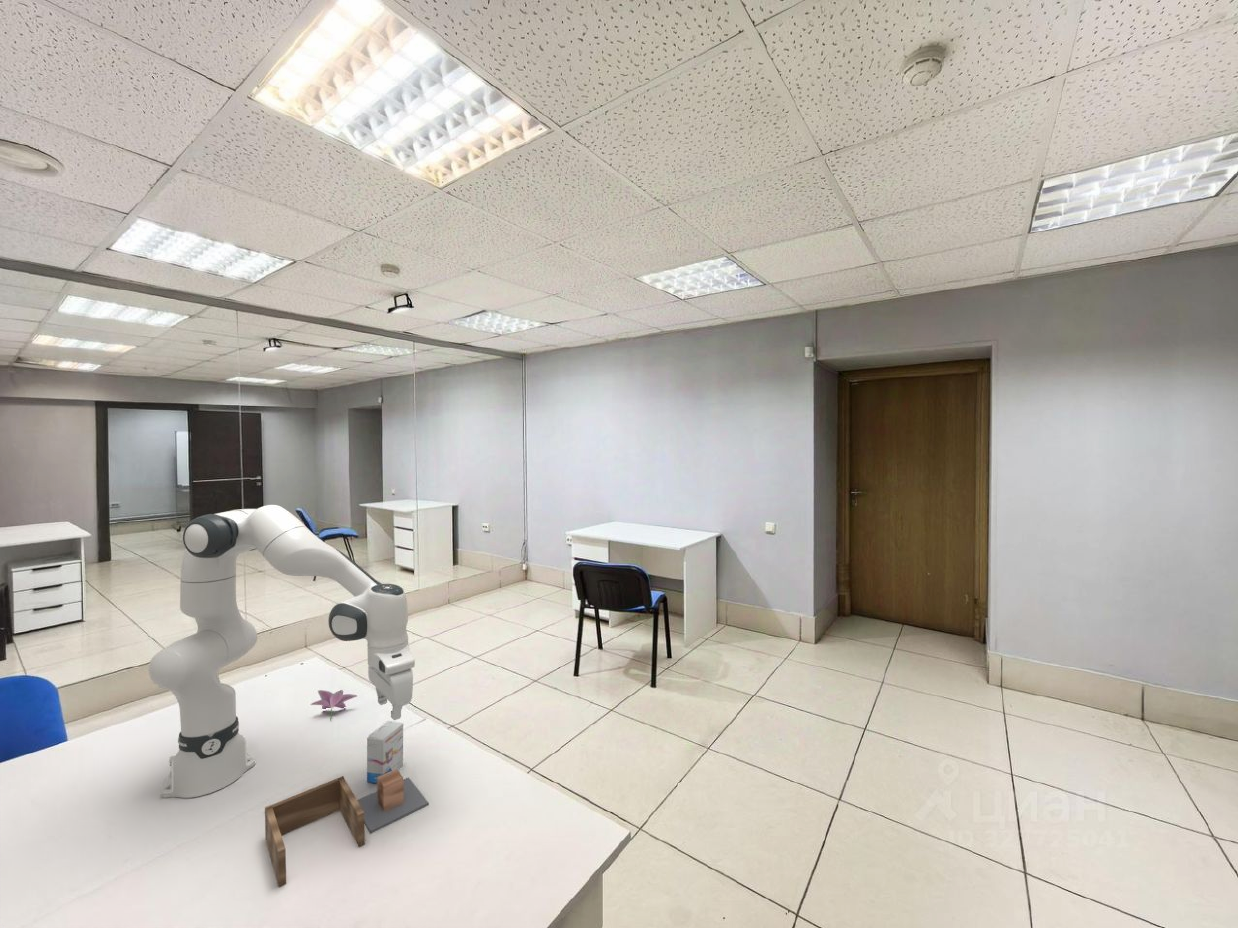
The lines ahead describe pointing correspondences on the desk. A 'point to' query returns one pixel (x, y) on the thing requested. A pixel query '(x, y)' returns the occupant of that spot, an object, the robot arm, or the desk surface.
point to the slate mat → (380, 818)
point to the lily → (332, 699)
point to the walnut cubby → (310, 817)
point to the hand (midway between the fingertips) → (389, 710)
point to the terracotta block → (390, 789)
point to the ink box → (384, 750)
